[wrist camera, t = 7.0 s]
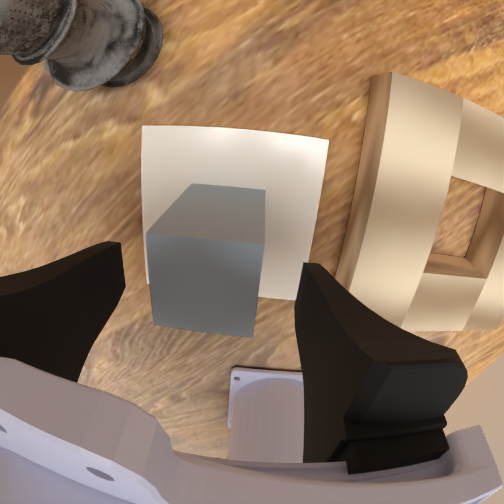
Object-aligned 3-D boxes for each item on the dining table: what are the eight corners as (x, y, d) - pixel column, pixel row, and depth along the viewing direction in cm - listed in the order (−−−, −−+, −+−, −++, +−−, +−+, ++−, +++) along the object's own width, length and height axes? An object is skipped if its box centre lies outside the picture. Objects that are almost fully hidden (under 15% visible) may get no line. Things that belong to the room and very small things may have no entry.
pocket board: (479, 307, 20) (497, 328, 17) (329, 299, 19) (337, 328, 17) (531, 143, 13) (558, 152, 11) (371, 77, 13) (392, 71, 11)
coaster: (299, 297, 19) (299, 300, 19) (148, 280, 19) (146, 283, 19) (327, 139, 15) (329, 140, 15) (144, 125, 15) (142, 125, 15)
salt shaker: (179, 0, 12) (56, -110, 1) (156, 95, 14) (-22, 97, 4) (91, 5, 11) (-58, -37, 1) (72, 91, 14) (-97, 117, 3)
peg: (257, 256, 18) (252, 337, 12) (190, 249, 18) (153, 324, 12) (265, 190, 16) (264, 244, 10) (191, 183, 16) (145, 232, 10)
